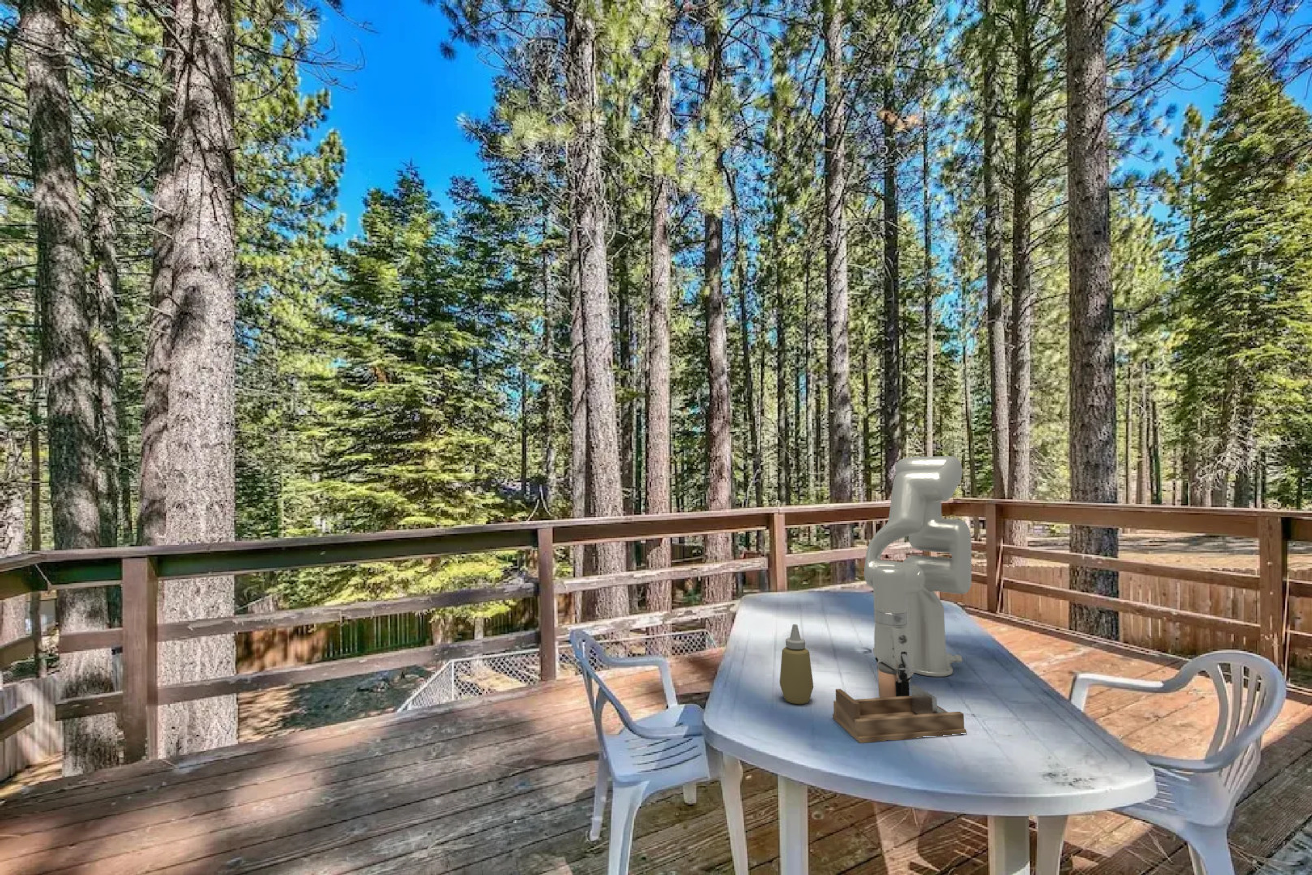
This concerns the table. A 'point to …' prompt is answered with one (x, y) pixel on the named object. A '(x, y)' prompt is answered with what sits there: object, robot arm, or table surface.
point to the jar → (887, 680)
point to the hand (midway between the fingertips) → (893, 691)
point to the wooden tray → (891, 719)
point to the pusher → (923, 702)
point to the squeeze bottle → (796, 670)
